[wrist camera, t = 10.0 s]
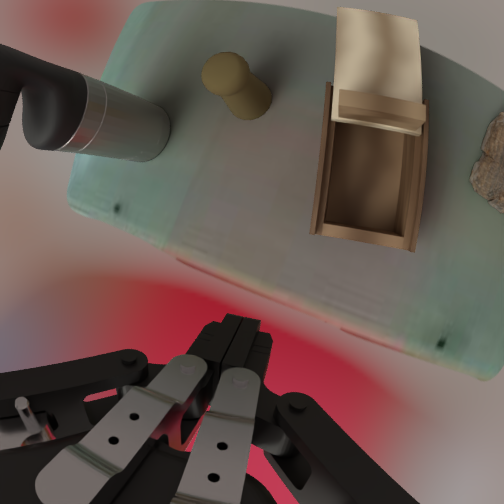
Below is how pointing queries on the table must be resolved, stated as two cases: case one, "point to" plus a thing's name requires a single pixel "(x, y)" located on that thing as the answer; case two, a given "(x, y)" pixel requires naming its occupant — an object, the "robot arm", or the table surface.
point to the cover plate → (378, 72)
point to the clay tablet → (491, 165)
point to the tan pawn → (236, 85)
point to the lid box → (369, 182)
